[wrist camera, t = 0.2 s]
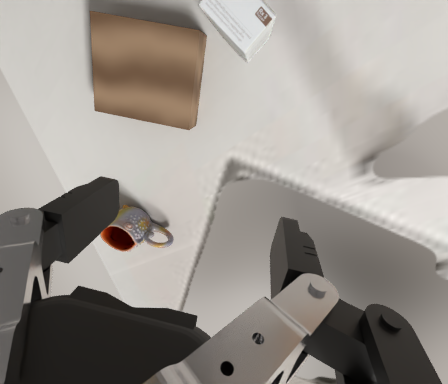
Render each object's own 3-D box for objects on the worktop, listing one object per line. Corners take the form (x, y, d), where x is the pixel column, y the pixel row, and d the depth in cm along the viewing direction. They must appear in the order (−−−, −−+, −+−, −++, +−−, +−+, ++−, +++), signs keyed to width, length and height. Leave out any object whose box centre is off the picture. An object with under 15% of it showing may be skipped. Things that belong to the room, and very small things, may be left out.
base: (108, 18, 34) (89, 10, 31) (206, 35, 34) (199, 30, 30) (110, 108, 40) (94, 110, 36) (195, 125, 39) (188, 130, 35)
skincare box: (216, 30, 33) (192, 5, 22) (239, -1, 31) (226, -46, 20) (249, 65, 34) (241, 58, 23) (273, 36, 33) (278, 14, 22)
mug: (117, 228, 49) (96, 249, 43) (120, 198, 46) (98, 216, 40) (175, 247, 49) (162, 270, 43) (181, 218, 46) (169, 239, 40)
